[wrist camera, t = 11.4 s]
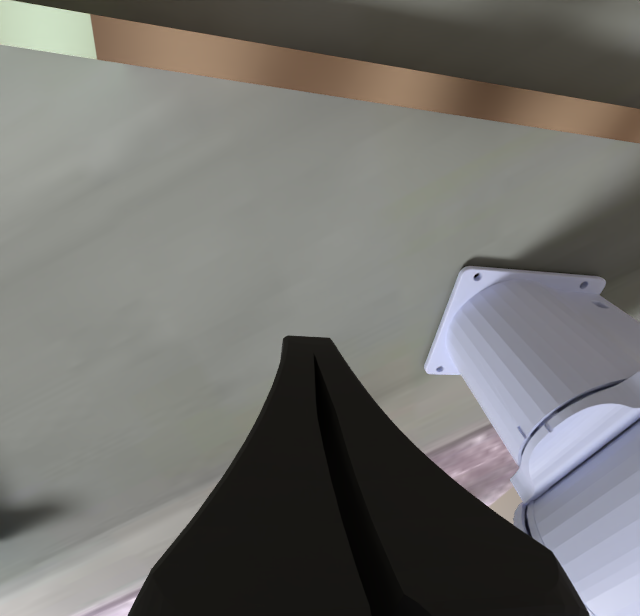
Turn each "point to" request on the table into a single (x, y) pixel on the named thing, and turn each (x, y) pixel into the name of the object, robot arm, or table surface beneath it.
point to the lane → (304, 71)
